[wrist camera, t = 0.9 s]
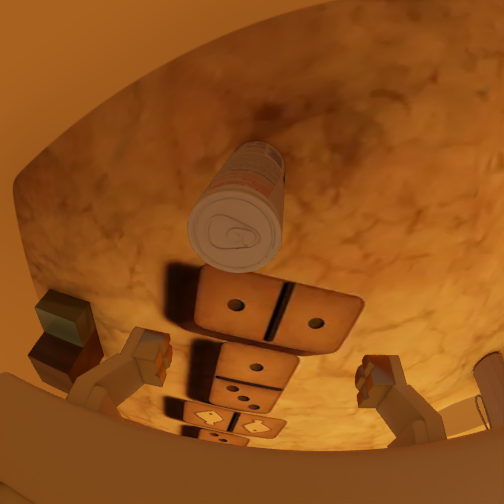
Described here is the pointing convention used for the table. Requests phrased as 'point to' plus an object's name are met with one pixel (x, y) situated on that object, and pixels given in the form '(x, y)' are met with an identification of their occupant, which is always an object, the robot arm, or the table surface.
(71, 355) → the stand
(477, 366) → the water bottle
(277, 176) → the beverage can
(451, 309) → the table surface
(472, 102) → the table surface
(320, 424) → the table surface
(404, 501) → the robot arm
